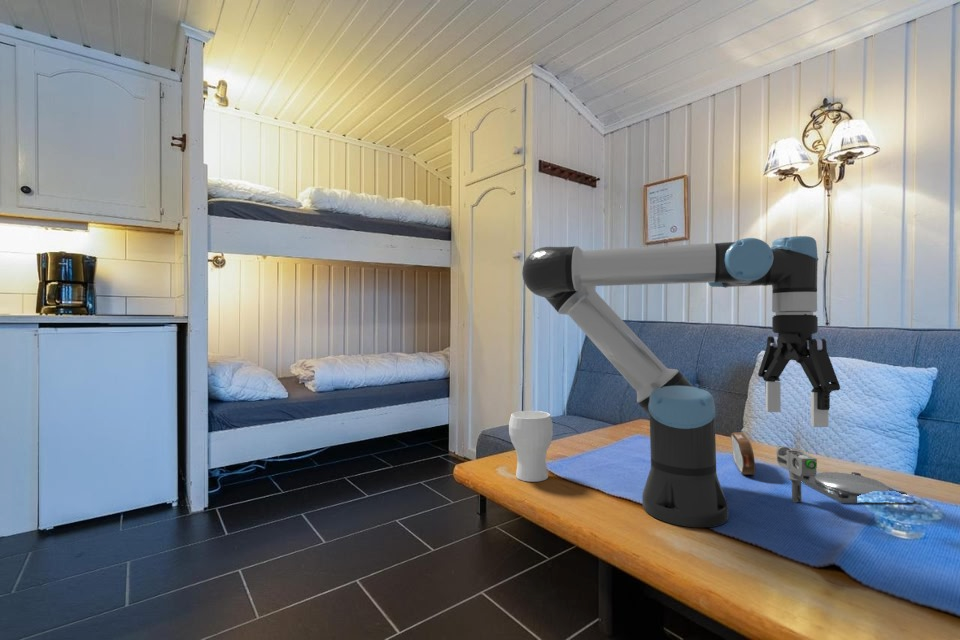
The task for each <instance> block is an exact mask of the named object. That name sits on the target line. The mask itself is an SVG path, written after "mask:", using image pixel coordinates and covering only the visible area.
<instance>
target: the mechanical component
mask: <svg viewBox="0 0 960 640" xmlns="http://www.w3.org/2000/svg"><path fill="white" fill-rule="evenodd" d="M817 459H818V458H816V457H814V456H811V455H809V454H807V453H805V452H804V451H801V450H797V449H796V450H795V449H793V450H791V448H789V447H787V446H784V445H783V446H781V445H780V446H778V447H777V449H776V461H777V464H778V465H779V466H780V467H782V468H783V469H785V470H787V471H788V477H787V478H788V479H789V480H791V502H792V503H795V504H797V503H798V502H799V503H803V502H802V501H803V500H802V499H803V498H802V497H803V496H802V482H801V481H804V478H803V476H815V475H816V474H817V466H818V463H817V462H818V460H817Z"/></svg>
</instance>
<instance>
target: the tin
mask: <svg viewBox="0 0 960 640" xmlns="http://www.w3.org/2000/svg"><path fill="white" fill-rule="evenodd" d="M730 440H731V446H732V450H731V451H732V452H731V453H732V457H733V461H734V464H735V463H736V464H735V466H736V465H737V466H736V467H738V468H737V469H738V471H739V470H740V471H739V473H740V472H741V473H740V475H742V474H743V475H744V476H752V477H753V476H755V475H756V461H755V456H754V455H755V454H754V450H753V446H752V443H751V441H750V439H749V438H748V436H746V434H745V433H744V432H743V431H741V432H740V431H739V432H738V431H737V432H732V433H730Z"/></svg>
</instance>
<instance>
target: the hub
mask: <svg viewBox="0 0 960 640" xmlns="http://www.w3.org/2000/svg"><path fill="white" fill-rule="evenodd" d="M803 478H804V481H802V482H803V483H802V482H801V483H802V484H804V483H805V484H804V485H806V486H807V485H808V486H807V487H809V486H810V487H809V488H811V487H812V489H813V488H814V489H813V490H815V489H816V490H815V491H817V492H819V493H820V494H823V495H825V494H826V495H827V497H828V496H829V498H830V497H831V499H832V498H833V499H832V500H834V499H835V501H836V500H837V501H836V502H837V503H840V504H842V503H852V504H858V503H857V496H859V495H861V494H866V493H869V492H872V491H888V490H889V491H896V492H899V493H901V494H906V495H908V494H907V492H906V491H903V490H897V489H894V488H891V487H890V486H888V485H887V484H885V483H883V482H882V481H879V480H877V479H874V478H870V477H868V476H863V475H862V473H860V472H857V471H856V472H855V471H854V472H851V473H846V472H837V471H836V472H832V471H827V472H824V471H823V472H819V473H816V475H815V476H803ZM826 495H825V496H826Z"/></svg>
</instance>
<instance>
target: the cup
mask: <svg viewBox="0 0 960 640" xmlns="http://www.w3.org/2000/svg"><path fill="white" fill-rule="evenodd" d="M553 427H554V425H553V421H552V416H551V414H550V413H549V412H547V411H546V412H545V411H540V410H522V411H521V410H520V411H516V412H512V413H511V414H510V419H509V422H508V434H509V437H510V441H511V444H512V446H513V447H514V449H515V451H516V452H515V453H516V458H517V464H516V471H515V473H516V474H515V477H516V478H517V480H519V481H523V482H533V483H534V482H542V481H545V480H547V479H548V478H549V474H548V473H549V472H548V467H547V462H546V459H547V452H548V450H549V447H550V446H551V444H552V439H553V436H554V428H553Z"/></svg>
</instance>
